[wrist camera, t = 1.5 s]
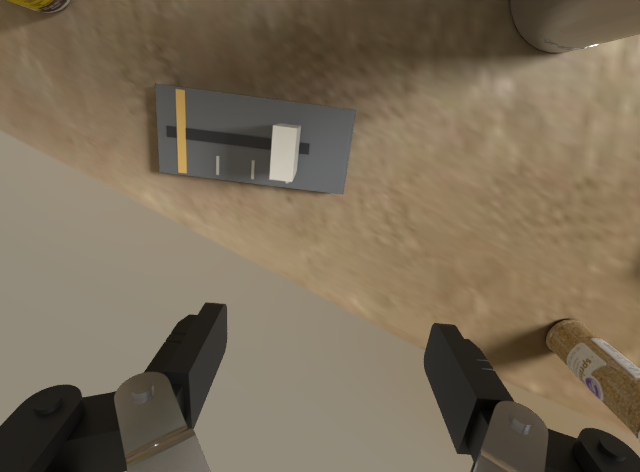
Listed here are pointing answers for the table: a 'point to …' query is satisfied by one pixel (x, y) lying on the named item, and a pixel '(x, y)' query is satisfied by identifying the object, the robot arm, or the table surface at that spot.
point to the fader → (284, 152)
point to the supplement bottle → (42, 5)
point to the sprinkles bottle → (599, 369)
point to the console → (249, 138)
